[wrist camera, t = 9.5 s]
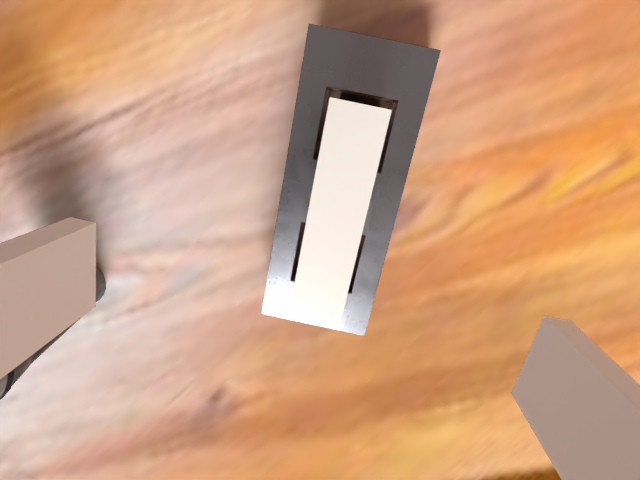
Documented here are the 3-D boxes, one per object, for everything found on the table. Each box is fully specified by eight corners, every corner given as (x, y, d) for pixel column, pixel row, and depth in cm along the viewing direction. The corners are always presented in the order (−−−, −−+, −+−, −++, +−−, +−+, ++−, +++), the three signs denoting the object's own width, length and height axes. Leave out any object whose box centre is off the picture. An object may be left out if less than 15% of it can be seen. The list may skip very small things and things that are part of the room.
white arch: (343, 261, 32) (339, 327, 22) (308, 253, 32) (288, 316, 22) (378, 111, 28) (391, 110, 18) (338, 102, 28) (329, 97, 18)
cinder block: (272, 290, 33) (261, 313, 30) (315, 36, 27) (308, 23, 23) (363, 310, 33) (364, 335, 29) (428, 58, 27) (440, 50, 23)
